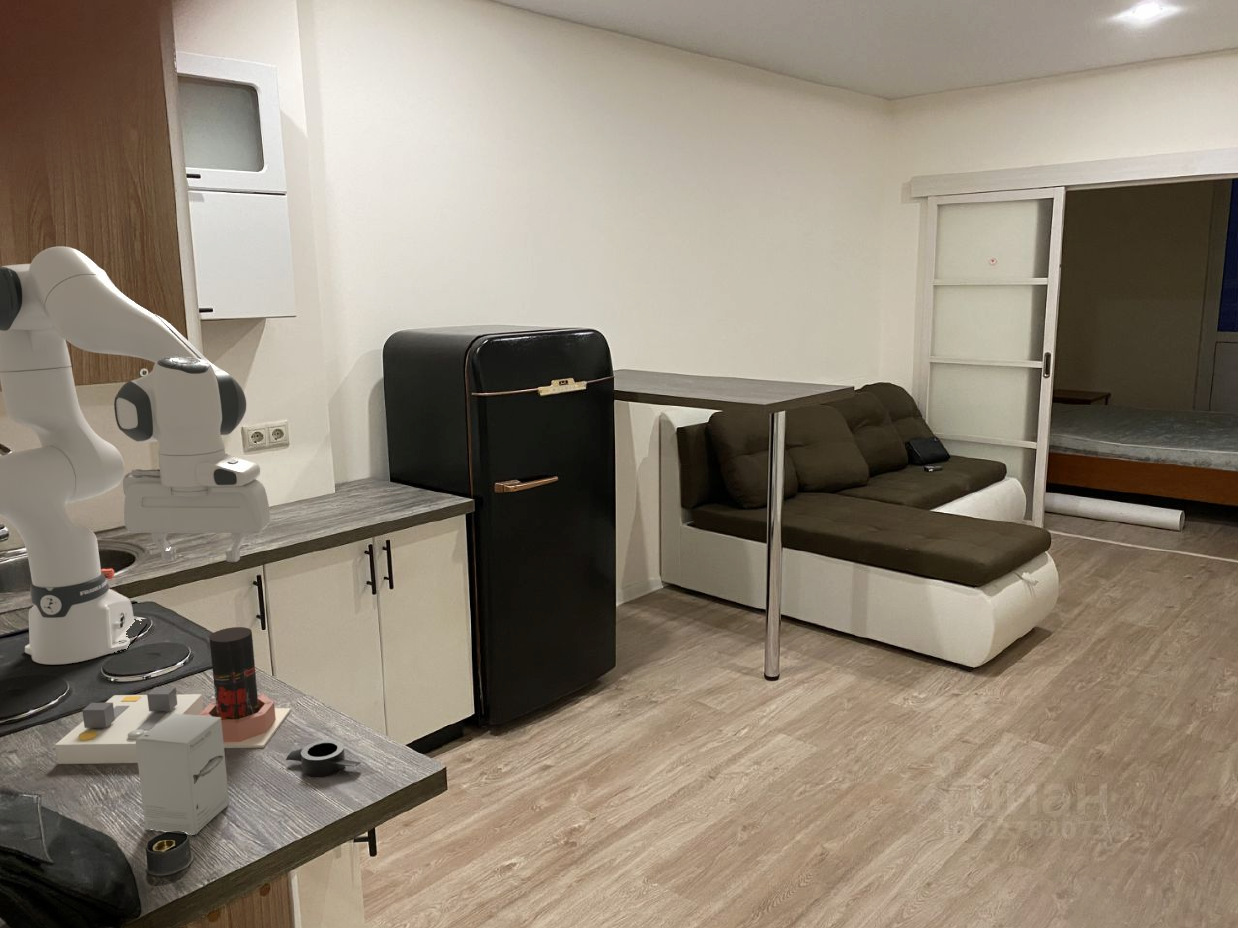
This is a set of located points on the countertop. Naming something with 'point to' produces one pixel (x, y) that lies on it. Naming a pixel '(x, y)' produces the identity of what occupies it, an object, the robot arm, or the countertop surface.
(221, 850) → the countertop surface
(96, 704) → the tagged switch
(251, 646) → the deodorant
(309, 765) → the black finned ring
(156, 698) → the untagged switch
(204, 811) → the supplement box
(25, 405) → the robot arm
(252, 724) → the ring
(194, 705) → the breaker panel
